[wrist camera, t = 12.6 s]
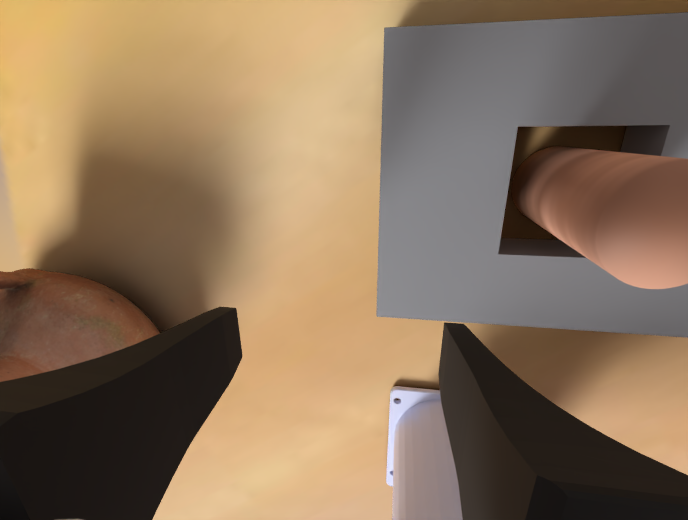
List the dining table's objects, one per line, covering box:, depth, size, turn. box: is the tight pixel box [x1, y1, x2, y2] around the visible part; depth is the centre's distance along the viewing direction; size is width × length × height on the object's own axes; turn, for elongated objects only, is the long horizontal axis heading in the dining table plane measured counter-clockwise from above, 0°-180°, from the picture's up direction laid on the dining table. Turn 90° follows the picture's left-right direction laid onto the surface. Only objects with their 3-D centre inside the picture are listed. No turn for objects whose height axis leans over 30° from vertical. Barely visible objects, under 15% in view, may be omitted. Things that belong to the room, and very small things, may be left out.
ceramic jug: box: [0, 268, 160, 382], centre depth 21 cm, size 18×14×14 cm
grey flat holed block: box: [377, 12, 688, 337], centre depth 17 cm, size 14×18×3 cm
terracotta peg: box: [511, 146, 688, 289], centre depth 15 cm, size 4×4×9 cm
